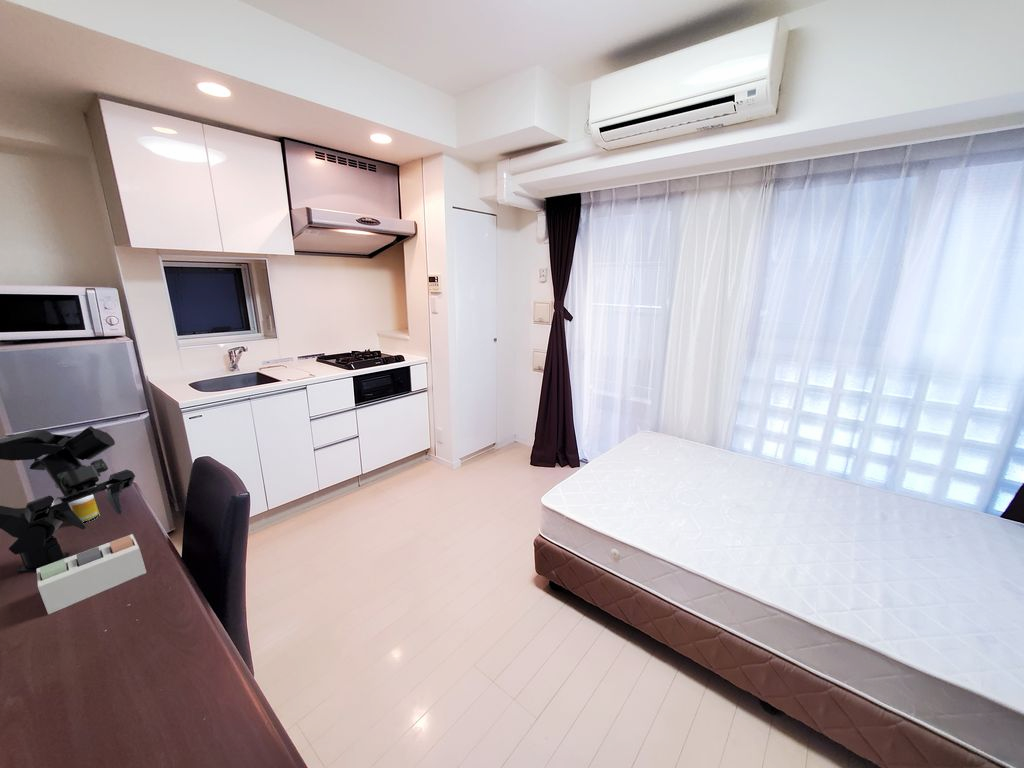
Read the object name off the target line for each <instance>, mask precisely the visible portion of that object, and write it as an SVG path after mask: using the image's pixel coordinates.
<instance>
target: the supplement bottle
mask: <svg viewBox="0 0 1024 768" xmlns="http://www.w3.org/2000/svg"><path fill="white" fill-rule="evenodd" d="M68 504H69V506H70V508H71V509H72V511H73V512H74V513H75V514H76V515H77V516H78V517H79V518H80V519H81V520H82V522H84V521H87V520H90V519H92V518H94V517H96V516H97V515H98V514H99V515H100V511H99V508H98V505H97V502H96V499H95V496H94V494H92V495H89V496H87V497H84V498H81V499H78V500H76V501H73V502H70V503H68Z"/></svg>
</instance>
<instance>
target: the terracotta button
mask: <svg viewBox="0 0 1024 768" xmlns="http://www.w3.org/2000/svg"><path fill="white" fill-rule="evenodd" d="M128 535H129V536H128ZM128 535H126V536H123V537H120V538H121V539H120V538H117V539H118V540H117V539H115V540H113V541H110V546H111V549H112V552H113V553H116V552H118V551H121V550H124V549H126V548H129V547H131V546H134V545H133V542H132V540H131V537H130V535H131V534H128Z"/></svg>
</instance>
